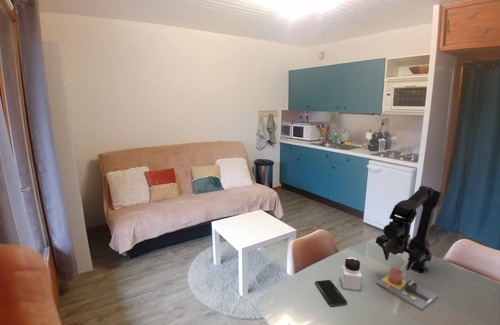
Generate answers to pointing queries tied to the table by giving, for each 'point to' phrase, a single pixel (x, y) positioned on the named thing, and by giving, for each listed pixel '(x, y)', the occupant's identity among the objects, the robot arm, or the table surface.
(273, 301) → the table surface
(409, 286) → the breaker
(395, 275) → the cap
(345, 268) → the medicine bottle
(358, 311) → the table surface
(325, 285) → the phone
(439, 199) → the robot arm
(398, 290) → the panel
